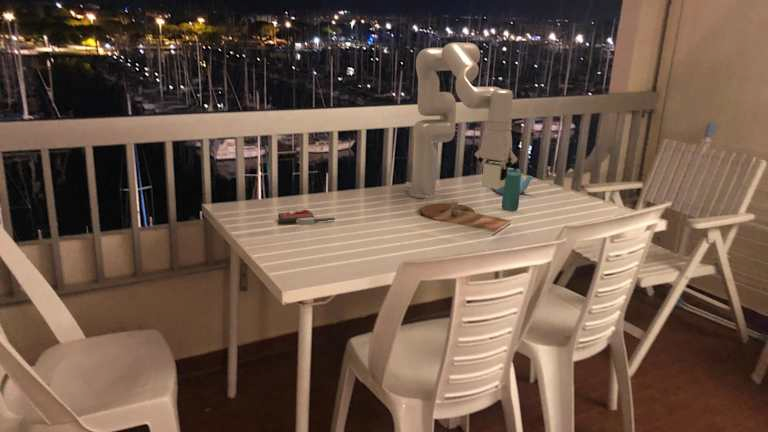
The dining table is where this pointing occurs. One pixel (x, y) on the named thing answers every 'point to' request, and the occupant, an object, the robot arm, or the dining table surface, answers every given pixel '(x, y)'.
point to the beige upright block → (492, 175)
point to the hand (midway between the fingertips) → (493, 177)
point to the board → (472, 219)
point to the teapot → (522, 183)
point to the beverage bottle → (511, 189)
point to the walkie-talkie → (299, 217)
